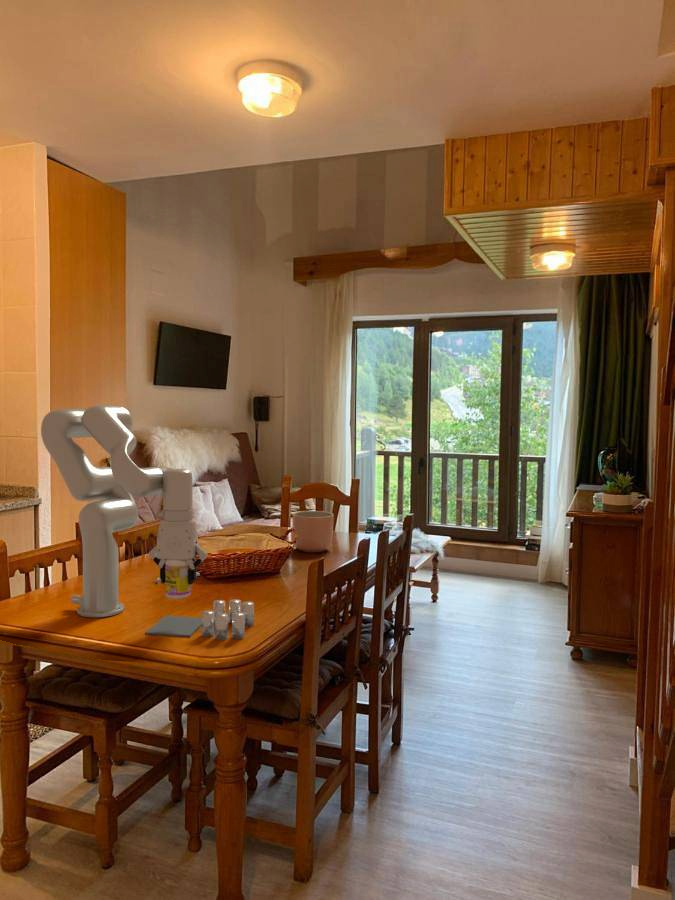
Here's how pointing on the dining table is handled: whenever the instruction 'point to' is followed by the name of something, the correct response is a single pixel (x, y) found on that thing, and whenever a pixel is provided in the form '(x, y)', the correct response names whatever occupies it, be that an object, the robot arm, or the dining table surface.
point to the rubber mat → (176, 626)
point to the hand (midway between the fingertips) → (178, 582)
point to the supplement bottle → (177, 579)
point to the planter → (313, 530)
